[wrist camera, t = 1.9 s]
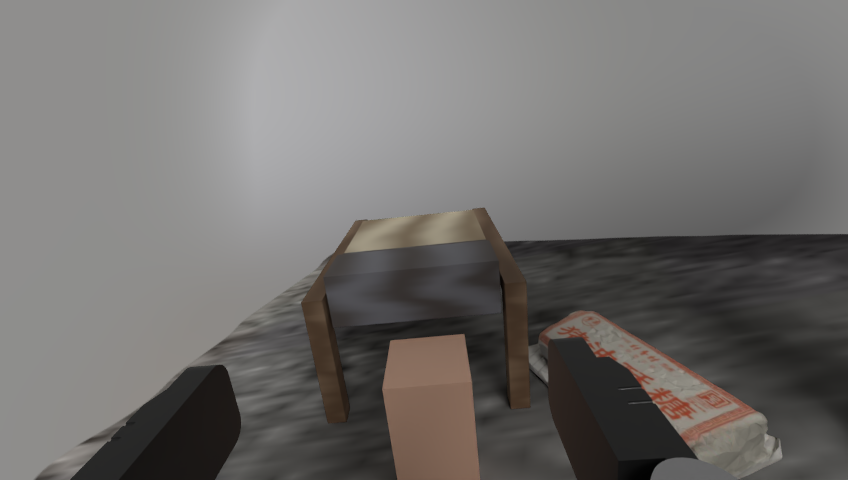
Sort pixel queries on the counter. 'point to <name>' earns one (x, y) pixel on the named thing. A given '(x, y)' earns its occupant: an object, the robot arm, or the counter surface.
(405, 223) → the trapdoor
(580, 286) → the counter surface
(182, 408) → the robot arm
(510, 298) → the wooden legged stool
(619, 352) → the packaged product
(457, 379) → the block
